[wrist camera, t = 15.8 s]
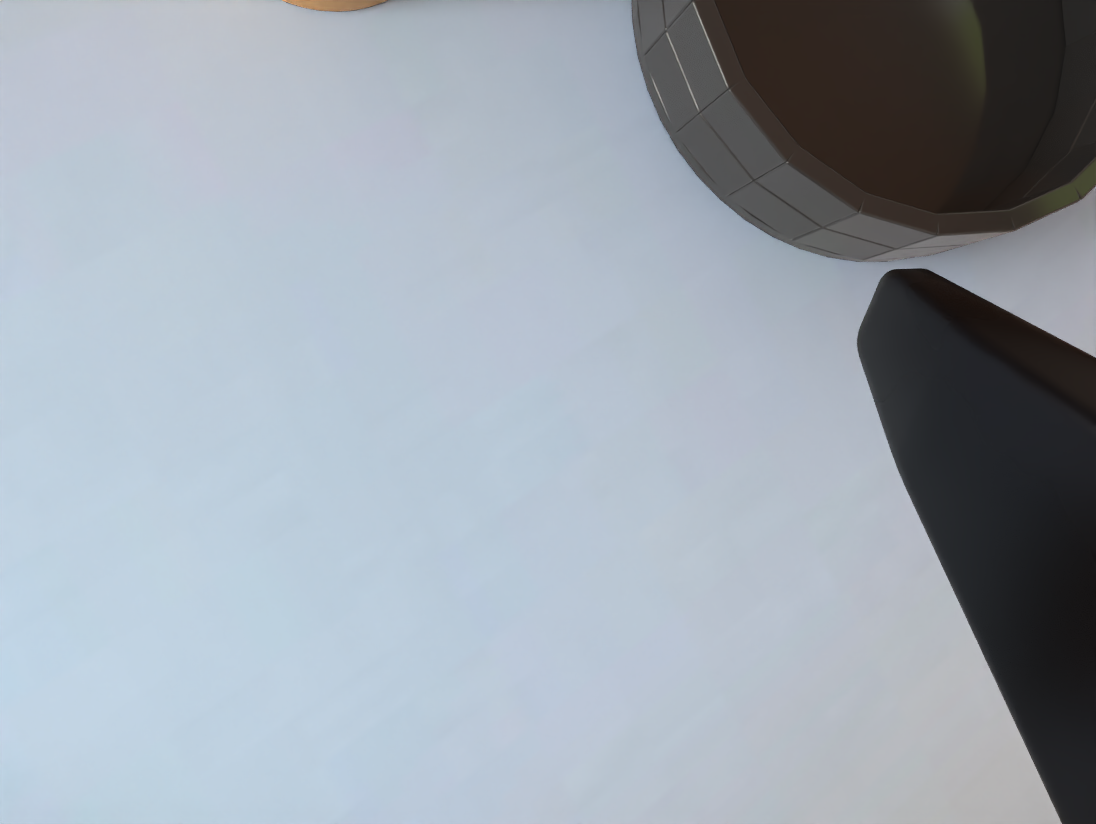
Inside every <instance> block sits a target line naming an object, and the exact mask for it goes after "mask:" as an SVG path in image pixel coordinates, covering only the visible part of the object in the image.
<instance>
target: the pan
mask: <svg viewBox="0 0 1096 824" xmlns="http://www.w3.org/2000/svg"><path fill="white" fill-rule="evenodd" d="M632 22H633V29H634V35H635V41H636V47H637V53H638V58H639V62H640V65H641V69H642V72H643V76H644V79H645V82H646V86H647V89H648V92H649V94H650V96H651V99H652V101H653V103H654V106H655V108H656V110H657V113H658V115H659V117H660V120H661V122H662V123H663V125H664V127H665V129H666V130H667V132H668V134H669V135H670V137H671V139H672V141H673V142H674V144H675V146H676V148H677V149H678V151H679V152H680V153H681V155H682V156H683V157H684V159H685V160H686V161H687V163H688V164H689V165H690V167H691V168H692V169H693V171H694V172H695V173H696V175H697V176H698V177H699V178H700V179H701V180H702V181H703V182H704V183H705V184H706V185H707V186H708V187H709V189H710V190H711V191H712V192H713V193H714V194H715V195H716V196H717V197H718V198H719V199H720V200H721V201H723V202H724V203H725V204H726V205H727V206H729V207H730V208H731V209H732V210H734V211H735V212H736V213H737V214H739V215H740V216H741V217H742V218H743V219H745V220H746V221H748V222H750V223H751V224H753V225H754V226H756V227H758V228H759V229H761V230H762V231H764V232H766V233H767V234H769V235H771V236H772V237H774V238H777V239H779V240H781V241H783V242H786V243H788V244H790V245H792V246H794V247H797V248H799V249H802V250H805V251H809V252H812V253H815V254H819V255H822V256H826V257H830V258H836V259H843V260H850V261H857V262H887V261H894V260H901V259H907V258H914V257H921V256H930V255H934V254H938V253H941V252H945V251H948V250H951V249H955V248H958V247H962V246H965V245H968V244H971V243H975V242H979V241H982V240H985V239H989V238H992V237H995V236H999V235H1002V234H1006V233H1009V232H1012V231H1016V230H1018V229H1020V228H1022V227H1024V226H1026V225H1029V224H1031V223H1033V222H1035V221H1037V220H1040V219H1042V218H1044V217H1046V216H1048V215H1050V214H1053V213H1055V212H1057V211H1059V210H1061V209H1064V208H1066V207H1068V206H1070V205H1072V204H1074V203H1077V202H1078V201H1079V200H1081V199H1083V198H1084V197H1085V196H1086V195H1087V194H1088V193H1089V192H1090V191H1091V190H1092V189H1093V188H1094V187H1095V186H1096V0H632Z"/></svg>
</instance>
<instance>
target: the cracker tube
mask: <svg viewBox="0 0 1096 824" xmlns="http://www.w3.org/2000/svg"><path fill="white" fill-rule="evenodd" d="M283 1H285V2H287V3H290V4H294V5H297V6H300V7H303V8H309V9H314V10H320V11H336V12H338V11H351V10H358V9H362V8H367V7H371V6H374V5H377V4H380V3H382V2H385V1H387V0H283Z"/></svg>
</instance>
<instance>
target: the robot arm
mask: <svg viewBox="0 0 1096 824" xmlns="http://www.w3.org/2000/svg"><path fill="white" fill-rule="evenodd" d="M857 347H858V353H859V357H860V360H861V363H862V366H863V369H864V372H865V375H866V378H867V381H868V384H869V387H870V390H871V393H872V396H873V399H874V402H875V405H876V408H877V411H878V414H879V417H880V420H881V423H882V426H883V429H884V431H885V434H886V437H887V440H888V443H889V446H890V449H891V452H892V455H893V458H894V460H895V463H896V466H897V468H898V471H899V473H900V476H901V478H902V480H903V483H904V485H905V487H906V489H907V492H908V494H909V496H910V498H911V500H912V502H913V505H914V507H915V509H916V511H917V513H918V515H919V517H920V520H921V522H922V524H923V526H924V528H925V530H926V532H927V535H928V537H929V539H930V541H931V543H932V545H933V547H934V550H935V552H936V554H937V556H938V558H939V560H940V563H941V565H942V567H943V569H944V571H945V573H946V575H947V578H948V580H949V582H950V584H951V586H952V588H953V590H954V593H955V595H956V597H957V599H958V601H959V603H960V605H961V608H962V610H963V612H964V614H965V616H966V618H967V621H968V623H969V625H970V627H971V629H972V631H973V633H974V636H975V638H976V640H977V642H978V644H979V646H980V648H981V651H982V653H983V655H984V657H985V659H986V661H987V663H988V666H989V668H990V670H991V672H992V674H993V676H994V678H995V681H996V683H997V685H998V687H999V689H1000V691H1001V694H1002V696H1003V698H1004V700H1005V702H1006V704H1007V706H1008V709H1009V711H1010V713H1011V715H1012V717H1013V719H1014V721H1015V724H1016V726H1017V728H1018V730H1019V732H1020V734H1021V736H1022V739H1023V741H1024V743H1025V745H1026V747H1027V749H1028V752H1029V754H1030V756H1031V758H1032V760H1033V762H1034V764H1035V767H1036V769H1037V771H1038V773H1039V775H1040V777H1041V779H1042V782H1043V784H1044V786H1045V788H1046V790H1047V792H1048V794H1049V797H1050V799H1051V801H1052V803H1053V805H1054V807H1055V809H1056V812H1057V814H1058V816H1059V818H1060V820H1061V822H1062V824H1096V358H1095V357H1093V356H1091V355H1090V354H1088V353H1086V352H1084V351H1082V350H1080V349H1078V348H1076V347H1074V346H1072V345H1071V344H1069V343H1067V342H1065V341H1063V340H1061V339H1059V338H1057V337H1055V336H1053V335H1052V334H1050V333H1048V332H1046V331H1044V330H1042V329H1040V328H1038V327H1036V326H1034V325H1033V324H1031V323H1029V322H1027V321H1025V320H1023V319H1021V318H1019V317H1017V316H1015V315H1013V314H1012V313H1010V312H1008V311H1006V310H1004V309H1002V308H1000V307H998V306H996V305H994V304H993V303H991V302H989V301H987V300H985V299H983V298H981V297H979V296H977V295H975V294H974V293H972V292H970V291H968V290H966V289H964V288H962V287H960V286H958V285H956V284H955V283H953V282H951V281H949V280H947V279H945V278H943V277H941V276H939V275H937V274H935V273H934V272H932V271H929V270H927V269H894V270H891V271H889V272H887V273H886V274H885V275H884V276H883V277H882V278H881V280H880V282H879V284H878V286H877V288H876V291H875V293H874V295H873V298H872V300H871V302H870V305H869V307H868V310H867V312H866V314H865V317H864V319H863V321H862V324H861V326H860V329H859V332H858V338H857Z"/></svg>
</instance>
